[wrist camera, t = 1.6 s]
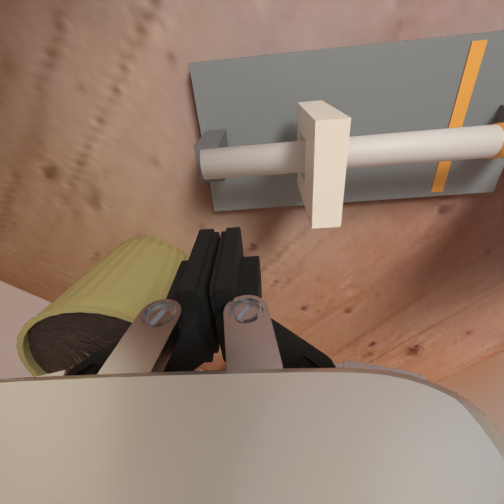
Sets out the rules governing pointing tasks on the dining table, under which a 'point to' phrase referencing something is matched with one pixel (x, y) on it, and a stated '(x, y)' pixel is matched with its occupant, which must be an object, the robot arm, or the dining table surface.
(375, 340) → the dining table surface
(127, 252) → the potted cactus
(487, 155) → the pipe rig
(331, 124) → the collar
